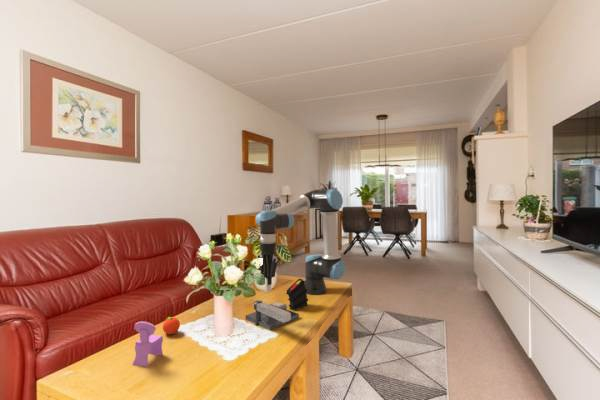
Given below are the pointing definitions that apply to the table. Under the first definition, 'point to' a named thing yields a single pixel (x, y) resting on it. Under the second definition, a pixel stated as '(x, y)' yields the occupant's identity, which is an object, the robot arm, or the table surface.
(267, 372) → the table surface
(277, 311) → the swing arm
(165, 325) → the tomato
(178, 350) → the table surface
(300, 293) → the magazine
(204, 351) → the table surface
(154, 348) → the toy chair
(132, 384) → the table surface
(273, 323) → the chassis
